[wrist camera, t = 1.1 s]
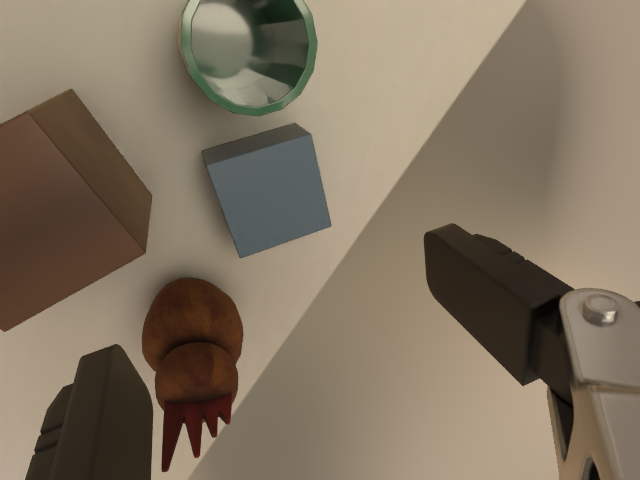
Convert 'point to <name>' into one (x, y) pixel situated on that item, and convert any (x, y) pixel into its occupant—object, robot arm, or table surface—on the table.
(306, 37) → the cup
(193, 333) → the wooden figurine
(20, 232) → the walnut block
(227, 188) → the slate block
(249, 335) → the table surface
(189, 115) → the table surface
